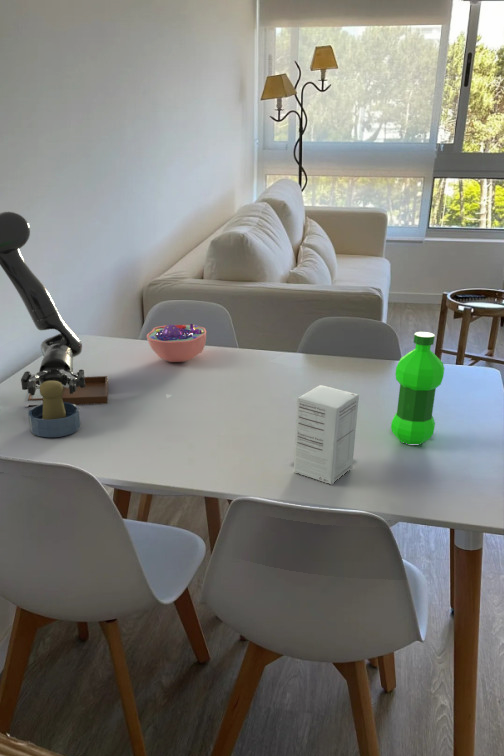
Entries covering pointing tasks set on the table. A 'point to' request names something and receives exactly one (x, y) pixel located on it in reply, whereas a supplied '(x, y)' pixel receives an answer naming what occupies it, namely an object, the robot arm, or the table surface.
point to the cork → (52, 400)
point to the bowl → (54, 421)
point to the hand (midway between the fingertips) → (51, 390)
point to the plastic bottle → (417, 391)
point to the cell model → (177, 341)
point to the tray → (85, 392)
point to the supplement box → (325, 433)
